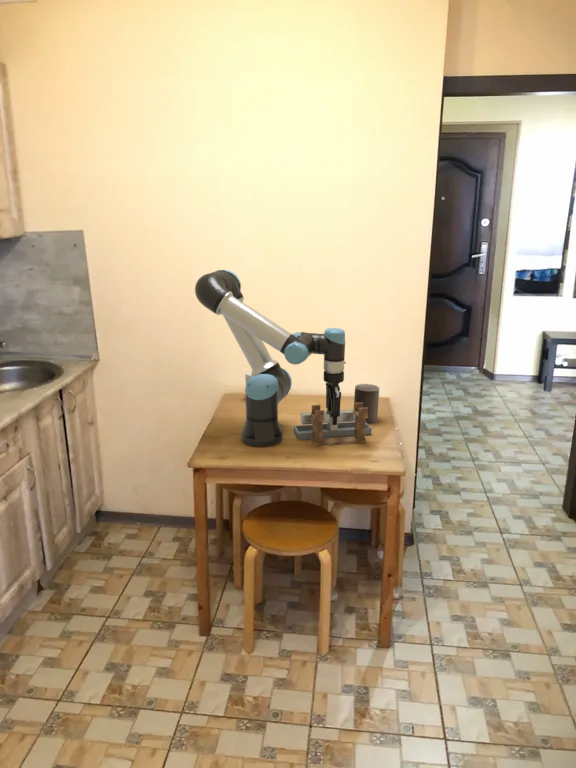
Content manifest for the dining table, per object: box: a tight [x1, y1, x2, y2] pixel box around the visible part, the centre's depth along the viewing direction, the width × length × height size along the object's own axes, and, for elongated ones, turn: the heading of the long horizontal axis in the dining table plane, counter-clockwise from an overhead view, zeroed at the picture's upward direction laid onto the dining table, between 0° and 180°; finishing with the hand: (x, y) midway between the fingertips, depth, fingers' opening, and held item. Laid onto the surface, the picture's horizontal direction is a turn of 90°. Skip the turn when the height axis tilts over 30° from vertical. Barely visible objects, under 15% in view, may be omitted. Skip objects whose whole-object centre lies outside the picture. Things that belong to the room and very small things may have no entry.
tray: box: [293, 421, 372, 441], centre depth 233 cm, size 28×8×2 cm, turn 101°
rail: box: [300, 408, 355, 425], centre depth 231 cm, size 24×4×4 cm, turn 101°
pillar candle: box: [353, 383, 380, 425], centre depth 245 cm, size 10×10×15 cm
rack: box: [310, 402, 368, 447], centre depth 222 cm, size 20×7×14 cm, turn 101°
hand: (332, 429), depth 232 cm, fingers closed on rail, 4 cm apart
